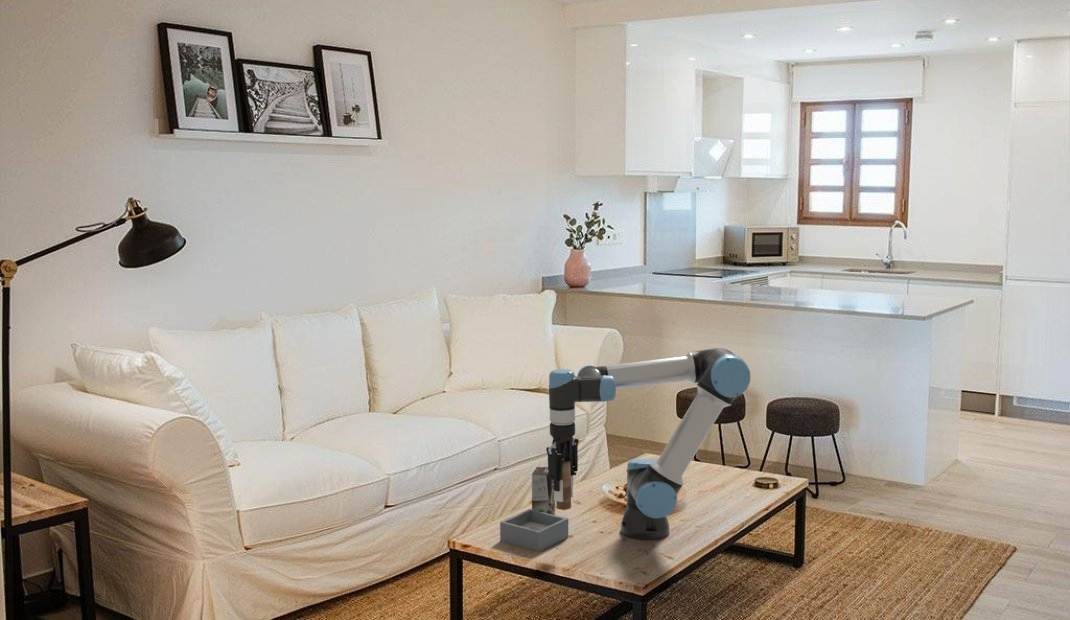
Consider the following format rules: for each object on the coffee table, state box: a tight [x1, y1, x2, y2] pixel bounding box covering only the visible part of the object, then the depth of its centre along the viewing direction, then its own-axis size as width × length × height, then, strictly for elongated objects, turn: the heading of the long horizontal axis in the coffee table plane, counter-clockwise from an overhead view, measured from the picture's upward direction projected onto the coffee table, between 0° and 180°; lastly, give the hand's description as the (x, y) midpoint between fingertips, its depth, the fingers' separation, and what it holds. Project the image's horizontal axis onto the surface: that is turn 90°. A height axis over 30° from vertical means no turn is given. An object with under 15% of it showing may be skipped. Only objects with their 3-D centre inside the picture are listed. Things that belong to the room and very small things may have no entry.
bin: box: [499, 508, 569, 552], centre depth 311 cm, size 15×15×6 cm
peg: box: [555, 460, 572, 511], centre depth 300 cm, size 4×4×14 cm
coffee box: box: [531, 466, 556, 515], centre depth 329 cm, size 9×6×16 cm
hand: (563, 498), depth 300 cm, fingers closed on peg, 4 cm apart
